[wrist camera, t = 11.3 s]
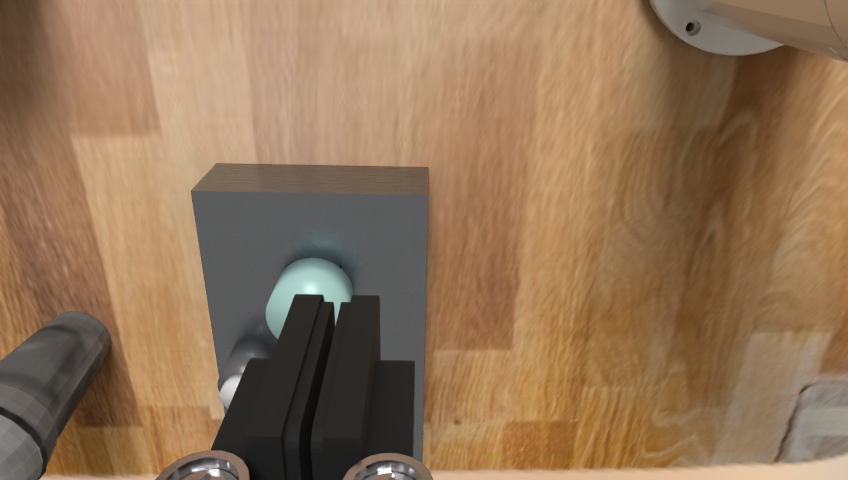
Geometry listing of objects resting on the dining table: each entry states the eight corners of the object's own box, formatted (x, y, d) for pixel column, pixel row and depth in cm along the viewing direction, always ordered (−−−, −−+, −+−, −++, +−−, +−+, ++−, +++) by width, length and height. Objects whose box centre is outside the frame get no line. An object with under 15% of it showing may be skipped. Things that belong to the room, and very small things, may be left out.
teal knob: (359, 226, 43) (346, 282, 36) (361, 287, 45) (349, 352, 38) (289, 224, 43) (262, 281, 36) (294, 286, 45) (269, 350, 38)
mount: (428, 167, 41) (428, 195, 37) (421, 442, 52) (421, 490, 47) (216, 163, 41) (190, 190, 37) (252, 440, 52) (236, 488, 47)
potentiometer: (274, 340, 41) (259, 378, 38) (277, 376, 43) (264, 417, 39) (228, 339, 41) (209, 377, 38) (233, 376, 43) (215, 416, 39)
